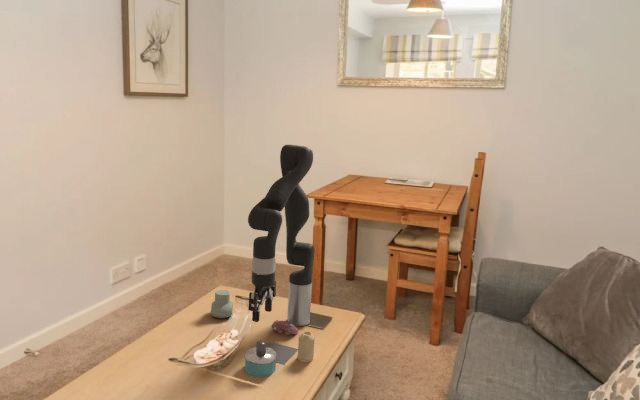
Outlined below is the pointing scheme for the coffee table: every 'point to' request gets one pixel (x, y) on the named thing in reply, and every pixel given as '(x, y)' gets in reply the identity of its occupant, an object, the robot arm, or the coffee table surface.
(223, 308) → the air freshener
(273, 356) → the lid
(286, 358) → the mat
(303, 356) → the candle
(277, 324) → the purple rounded lump
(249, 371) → the bowl
